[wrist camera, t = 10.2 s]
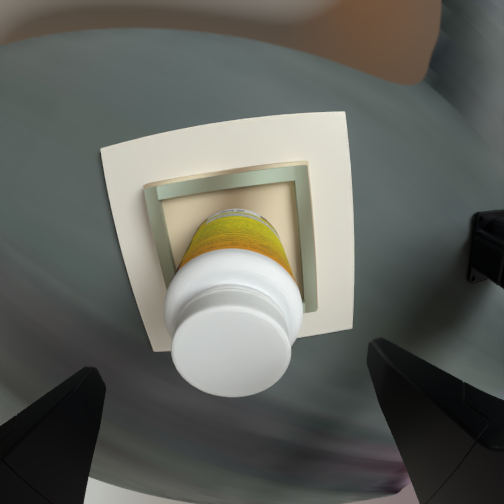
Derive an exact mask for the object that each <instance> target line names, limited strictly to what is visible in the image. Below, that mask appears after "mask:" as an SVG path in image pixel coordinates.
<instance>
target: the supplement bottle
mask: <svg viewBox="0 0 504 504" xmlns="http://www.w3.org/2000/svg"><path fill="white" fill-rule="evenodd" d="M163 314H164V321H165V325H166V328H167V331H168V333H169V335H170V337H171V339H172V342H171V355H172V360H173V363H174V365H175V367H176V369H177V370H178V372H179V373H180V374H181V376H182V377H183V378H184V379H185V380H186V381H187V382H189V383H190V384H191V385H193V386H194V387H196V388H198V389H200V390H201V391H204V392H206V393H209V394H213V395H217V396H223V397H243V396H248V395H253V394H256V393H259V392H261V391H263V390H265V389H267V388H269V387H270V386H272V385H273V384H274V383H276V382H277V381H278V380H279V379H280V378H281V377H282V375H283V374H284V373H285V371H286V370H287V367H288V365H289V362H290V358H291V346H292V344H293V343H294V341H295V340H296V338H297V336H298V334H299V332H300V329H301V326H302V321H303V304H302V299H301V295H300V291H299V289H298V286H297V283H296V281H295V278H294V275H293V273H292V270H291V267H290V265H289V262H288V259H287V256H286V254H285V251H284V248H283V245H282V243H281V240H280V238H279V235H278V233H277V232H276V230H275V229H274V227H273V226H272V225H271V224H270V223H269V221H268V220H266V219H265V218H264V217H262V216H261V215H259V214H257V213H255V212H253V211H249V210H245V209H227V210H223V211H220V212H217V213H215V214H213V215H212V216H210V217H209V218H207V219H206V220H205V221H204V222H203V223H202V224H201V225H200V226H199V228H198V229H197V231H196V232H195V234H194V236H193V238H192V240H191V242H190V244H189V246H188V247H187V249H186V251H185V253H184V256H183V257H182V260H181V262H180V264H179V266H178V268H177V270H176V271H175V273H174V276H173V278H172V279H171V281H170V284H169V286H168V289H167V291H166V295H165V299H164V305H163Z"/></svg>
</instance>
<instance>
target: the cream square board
mask: <svg viewBox="0 0 504 504" xmlns="http://www.w3.org/2000/svg"><path fill="white" fill-rule="evenodd" d="M100 150H101V157H102V163H103V169H104V174H105V180H106V185H107V190H108V195H109V200H110V205H111V209H112V214H113V218H114V223H115V227H116V231H117V235H118V239H119V243H120V247H121V251H122V255H123V258H124V262H125V266H126V269H127V273H128V276H129V279H130V283H131V286H132V289H133V293H134V296H135V299H136V302H137V305H138V308H139V311H140V314H141V317H142V320H143V323H144V326H145V329H146V332H147V334H148V337H149V340H150V343H151V345H152V348H153V351H154V352H161V351H171V342H172V339H171V337H170V335H169V333H168V331H167V328H166V325H165V321H164V314H163V305H164V299H165V295H166V291H167V289H166V286H165V282H164V278H163V274H162V270H161V266H160V262H159V258H158V254H157V250H156V245H155V241H154V237H153V232H152V228H151V223H150V218H149V214H148V209H147V204H146V199H145V193H144V187H143V185H145V184H147V183H151V182H156V181H161V180H167V179H172V178H178V177H183V176H189V175H195V174H201V173H207V172H213V171H220V170H227V169H234V168H241V167H248V166H256V165H264V164H273V163H282V162H292V161H302V160H306V161H308V165H309V175H310V185H311V196H312V209H313V222H314V236H315V253H316V272H317V297H318V309H317V311H316V312H310V313H303V321H302V326H301V329H300V332H299V334H298V336H297V338H300V337H306V336H312V335H318V334H324V333H330V332H336V331H341V330H346V329H352V324H353V301H354V221H353V198H352V181H351V167H350V155H349V144H348V134H347V125H346V117H345V112H317V113H300V114H286V115H275V116H265V117H256V118H248V119H240V120H232V121H225V122H219V123H213V124H207V125H201V126H195V127H190V128H184V129H179V130H174V131H169V132H165V133H160V134H156V135H151V136H147V137H143V138H139V139H135V140H131V141H127V142H123V143H119V144H116V145H112V146H108V147H105V148H101V149H100Z"/></svg>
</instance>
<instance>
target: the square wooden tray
mask: <svg viewBox="0 0 504 504" xmlns="http://www.w3.org/2000/svg"><path fill="white" fill-rule="evenodd" d="M143 187H144V193H145V199H146V204H147V209H148V214H149V218H150V223H151V228H152V232H153V237H154V241H155V245H156V250H157V254H158V258H159V262H160V266H161V270H162V274H163V278H164V282H165V286H166V289H168V286H169V284H170V281H171V279H172V278H173V276H174V273H175V271H176V270H177V268H178V266H179V264H180V262H181V260H182V257H183V256H184V253H185V251H186V249H187V247H188V246H189V244H190V242H191V240H192V238H193V236H194V234H195V232H196V231H197V229H198V228H199V226H200V225H201V224H202V223H203V222H204V221H205V220H206V219H207V218H209V217H210V216H212V215H213V214H215V213H217V212H220V211H223V210H227V209H245V210H249V211H253V212H255V213H257V214H259V215H261V216H262V217H264V218H265V219H266V220H268V221H269V223H270V224H271V225H272V226H273V227H274V229H275V230H276V232H277V233H278V235H279V238H280V240H281V243H282V245H283V248H284V251H285V254H286V256H287V259H288V262H289V265H290V267H291V270H292V273H293V275H294V278H295V281H296V283H297V286H298V289H299V291H300V295H301V299H302V304H303V313H310V312H316V311H317V309H318V297H317V272H316V253H315V236H314V222H313V209H312V196H311V185H310V175H309V165H308V161H306V160H302V161H292V162H282V163H273V164H264V165H256V166H248V167H241V168H234V169H227V170H220V171H213V172H207V173H201V174H195V175H189V176H183V177H178V178H172V179H167V180H161V181H156V182H151V183H147V184H145V185H143Z"/></svg>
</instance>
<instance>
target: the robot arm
mask: <svg viewBox="0 0 504 504" xmlns="http://www.w3.org/2000/svg"><path fill="white" fill-rule="evenodd" d="M479 217H480V219H479ZM487 279H489V280H491V281H492V282H494V283H495V284H496V285H499V286H500V287H502V288H503V289H504V209H503V210H493V211H484V212H477V213H476V214H475V217H474V229H473V239H472V248H471V256H470V263H469V270H468V276H467V280H468V282H470V283H471V284H473V283H476V282H480V281H483V280H487ZM367 366H368V369H369V372H370V376H371V379H372V382H373V385H374V389H375V392H376V395H377V399H378V402H379V405H380V407H381V410H382V412H383V414H384V416H385V419H386V421H387V423H388V426H389V428H390V430H391V433H392V435H393V438H394V440H395V442H396V445H397V447H398V450H399V452H400V454H401V457H402V459H403V462H404V464H405V467H406V469H407V472H408V474H409V477H410V479H411V482H412V485H413V487H414V490H415V493H416V495H417V498H418V501H419V503H420V504H504V400H502V399H499V398H497V397H495V396H492V395H490V394H488V393H485V392H483V391H481V390H479V389H477V388H475V387H473V386H471V385H469V384H468V383H466V382H463V381H462V380H460V379H458V378H456V377H454V376H452V375H451V374H449V373H447V372H445V371H443V370H441V369H439V368H438V367H436V366H434V365H432V364H430V363H428V362H426V361H425V360H423V359H421V358H419V357H417V356H415V355H414V354H412V353H410V352H408V351H406V350H404V349H403V348H401V347H399V346H397V345H395V344H393V343H392V342H390V341H388V340H386V339H384V338H382V337H381V338H376V339H372V340H370V341H369V345H368V354H367ZM105 393H106V386H105V383H104V381H103V379H102V377H101V376H100V374H99V372H98V370H97V369H96V368H95V367H84V368H82V369H81V370H79V371H78V372H77V373H75V374H74V375H72V376H71V377H69V378H68V379H67V380H65V381H64V382H62V383H61V384H60V385H58V386H57V387H55V388H54V389H52V390H51V391H50V392H48V393H47V394H45V395H44V396H43V397H41V398H40V399H38V400H37V401H35V402H34V403H33V404H31V405H30V406H28V407H27V408H26V409H24V410H23V411H21V412H20V413H18V414H17V416H14V417H13V418H11V419H10V420H8V421H7V422H6V423H4V424H3V425H1V426H0V504H83V503H84V498H85V492H86V486H87V482H88V477H89V472H90V467H91V463H92V458H93V454H94V449H95V445H96V441H97V437H98V433H99V429H100V424H101V418H102V411H103V405H104V399H105Z"/></svg>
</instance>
